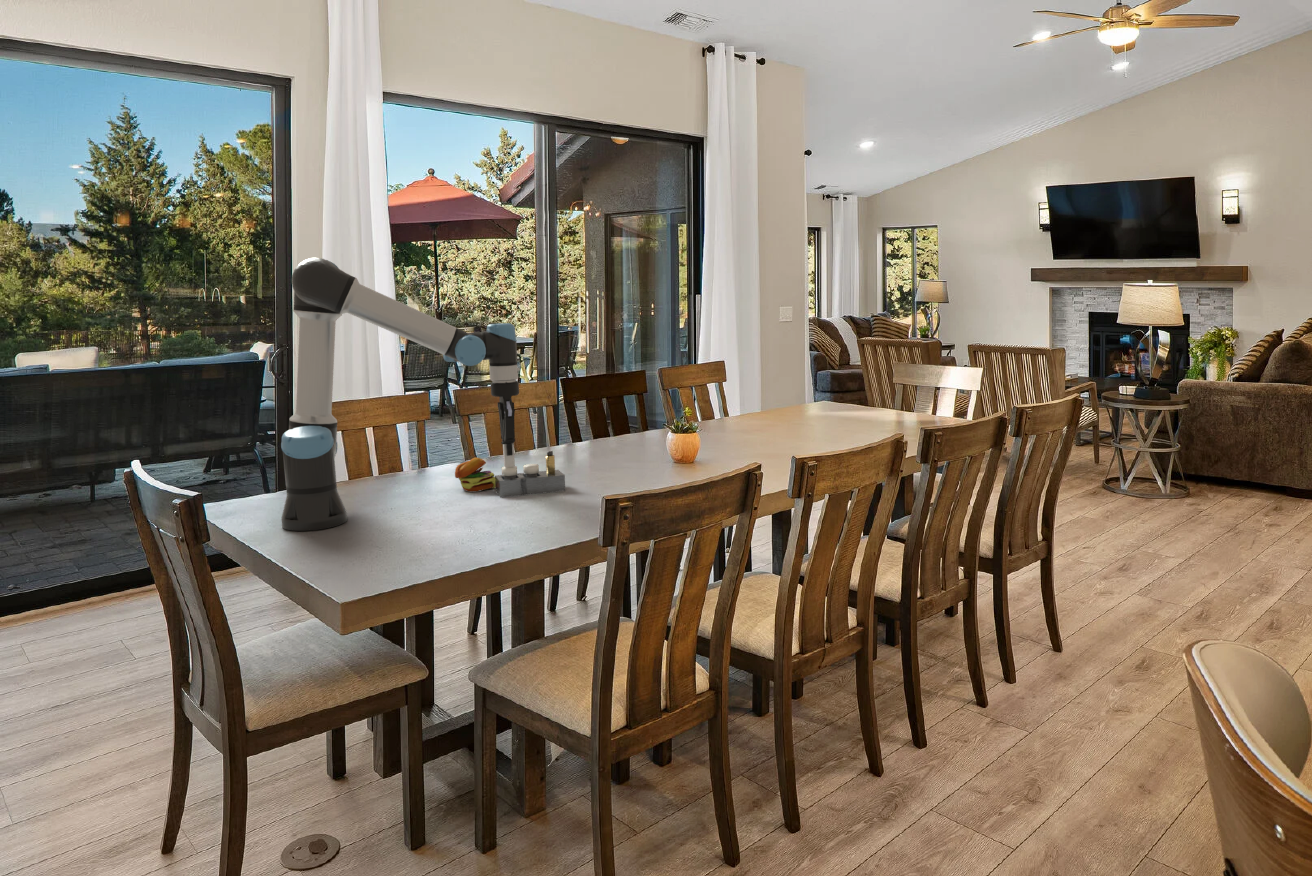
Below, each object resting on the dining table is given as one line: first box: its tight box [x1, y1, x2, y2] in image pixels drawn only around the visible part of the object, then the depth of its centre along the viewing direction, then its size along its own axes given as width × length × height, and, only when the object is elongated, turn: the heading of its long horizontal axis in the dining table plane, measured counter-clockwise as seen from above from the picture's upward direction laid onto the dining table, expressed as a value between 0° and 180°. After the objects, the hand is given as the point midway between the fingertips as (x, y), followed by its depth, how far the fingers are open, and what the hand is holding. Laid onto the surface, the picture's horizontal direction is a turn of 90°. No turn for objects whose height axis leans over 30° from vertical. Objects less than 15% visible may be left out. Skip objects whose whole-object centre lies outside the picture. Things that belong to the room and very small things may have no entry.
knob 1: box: [501, 465, 518, 479], centre depth 253 cm, size 4×4×7 cm
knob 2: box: [522, 463, 540, 477], centre depth 255 cm, size 4×4×7 cm
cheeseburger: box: [454, 457, 496, 493], centre depth 260 cm, size 10×11×10 cm
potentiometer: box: [545, 450, 556, 474], centre depth 256 cm, size 2×2×6 cm
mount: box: [494, 469, 566, 498], centre depth 255 cm, size 18×8×4 cm, turn 108°
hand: (509, 466), depth 253 cm, fingers closed
